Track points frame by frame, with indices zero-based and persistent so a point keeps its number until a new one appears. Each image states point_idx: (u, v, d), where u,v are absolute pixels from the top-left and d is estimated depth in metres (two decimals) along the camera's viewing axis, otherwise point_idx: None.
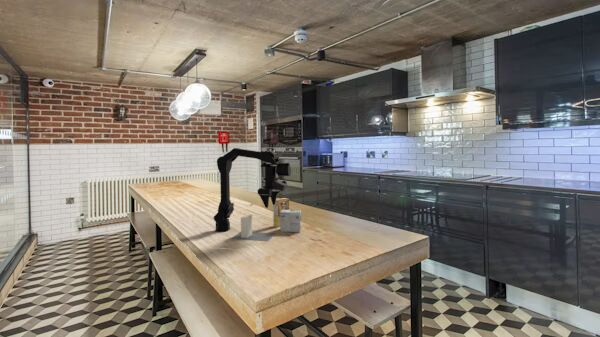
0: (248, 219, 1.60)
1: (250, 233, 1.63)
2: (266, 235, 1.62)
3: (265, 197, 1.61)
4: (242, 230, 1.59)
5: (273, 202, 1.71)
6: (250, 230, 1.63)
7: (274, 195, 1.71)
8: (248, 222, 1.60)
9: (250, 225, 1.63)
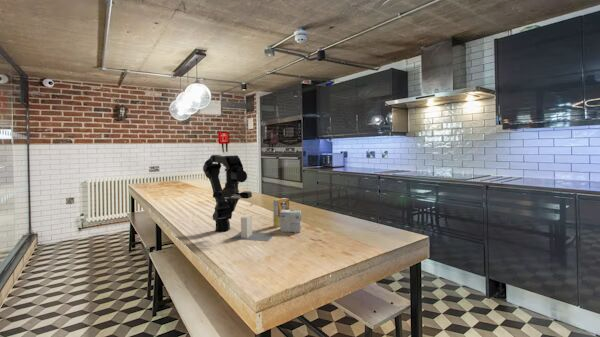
0: (248, 219, 1.60)
1: (250, 233, 1.63)
2: (266, 235, 1.62)
3: None
4: (242, 230, 1.59)
5: None
6: (250, 230, 1.63)
7: None
8: (248, 222, 1.60)
9: (250, 225, 1.63)
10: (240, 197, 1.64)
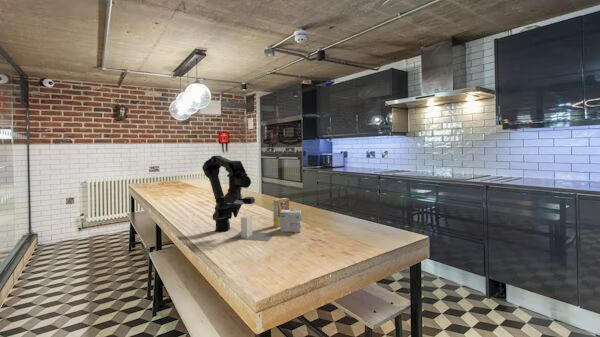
0: (248, 219, 1.60)
1: (250, 233, 1.63)
2: (266, 235, 1.62)
3: None
4: (242, 230, 1.59)
5: None
6: (250, 230, 1.63)
7: None
8: (248, 222, 1.60)
9: (250, 225, 1.63)
10: (243, 203, 1.63)
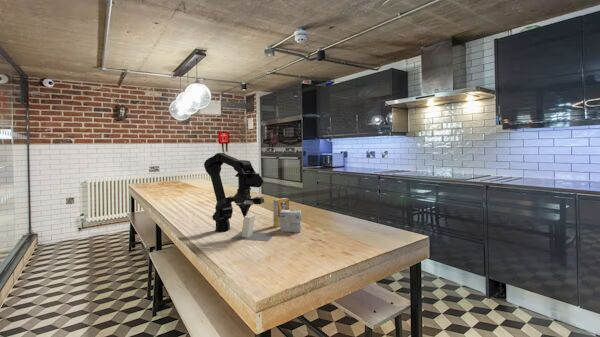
0: (251, 219, 1.60)
1: (250, 233, 1.63)
2: (266, 235, 1.62)
3: None
4: (243, 230, 1.59)
5: None
6: (251, 230, 1.63)
7: None
8: (250, 222, 1.60)
9: (252, 225, 1.63)
10: (252, 203, 1.62)
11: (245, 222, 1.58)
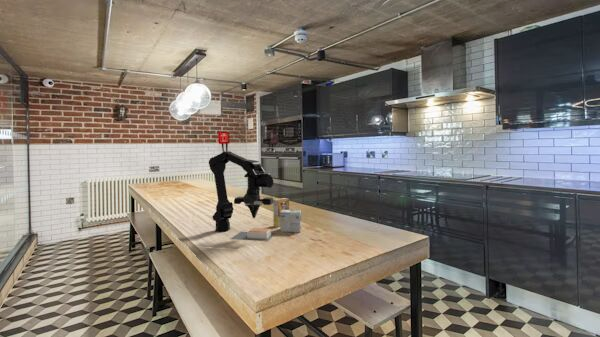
0: None
1: None
2: None
3: None
4: (253, 232, 1.58)
5: None
6: None
7: None
8: None
9: None
10: (261, 203, 1.61)
11: (261, 234, 1.57)
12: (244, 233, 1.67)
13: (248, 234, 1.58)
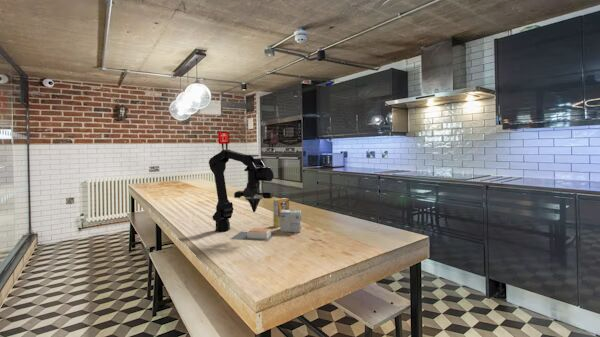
0: None
1: None
2: None
3: None
4: (253, 232, 1.58)
5: None
6: None
7: None
8: None
9: None
10: (262, 197, 1.61)
11: (261, 234, 1.57)
12: (244, 233, 1.67)
13: (248, 234, 1.58)
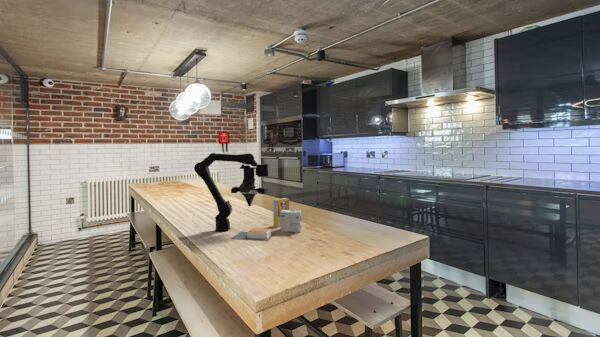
0: None
1: None
2: None
3: None
4: (253, 232, 1.58)
5: None
6: None
7: None
8: None
9: None
10: (256, 193, 1.74)
11: (261, 234, 1.57)
12: (244, 233, 1.67)
13: (248, 234, 1.58)
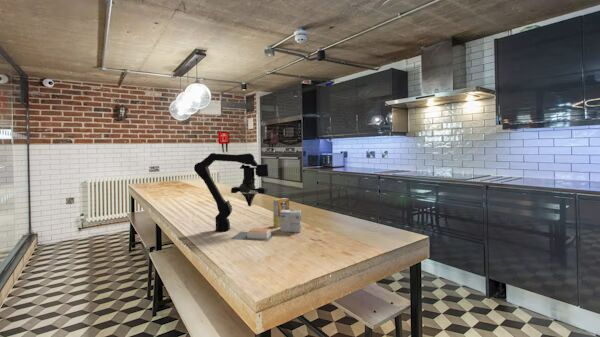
0: None
1: None
2: None
3: None
4: (253, 232, 1.58)
5: None
6: None
7: None
8: None
9: None
10: (256, 192, 1.74)
11: (261, 234, 1.57)
12: (244, 233, 1.67)
13: (248, 234, 1.58)
